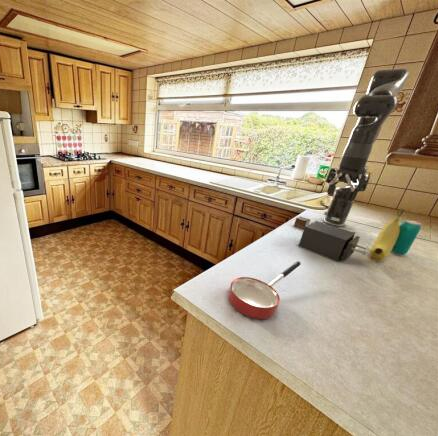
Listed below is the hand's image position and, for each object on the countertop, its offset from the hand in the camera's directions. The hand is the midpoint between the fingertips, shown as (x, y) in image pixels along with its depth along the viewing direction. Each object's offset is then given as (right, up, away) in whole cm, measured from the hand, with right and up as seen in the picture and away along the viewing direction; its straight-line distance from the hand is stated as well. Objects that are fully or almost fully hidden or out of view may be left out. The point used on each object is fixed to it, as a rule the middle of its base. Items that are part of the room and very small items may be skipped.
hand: (339, 197), depth 93 cm
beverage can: (+34, -24, +10) cm, 42 cm away
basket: (+3, -23, +6) cm, 24 cm away
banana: (+21, -25, +6) cm, 33 cm away
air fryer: (+1, -22, +10) cm, 24 cm away
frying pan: (-39, -32, -18) cm, 53 cm away
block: (+5, -13, +32) cm, 35 cm away
